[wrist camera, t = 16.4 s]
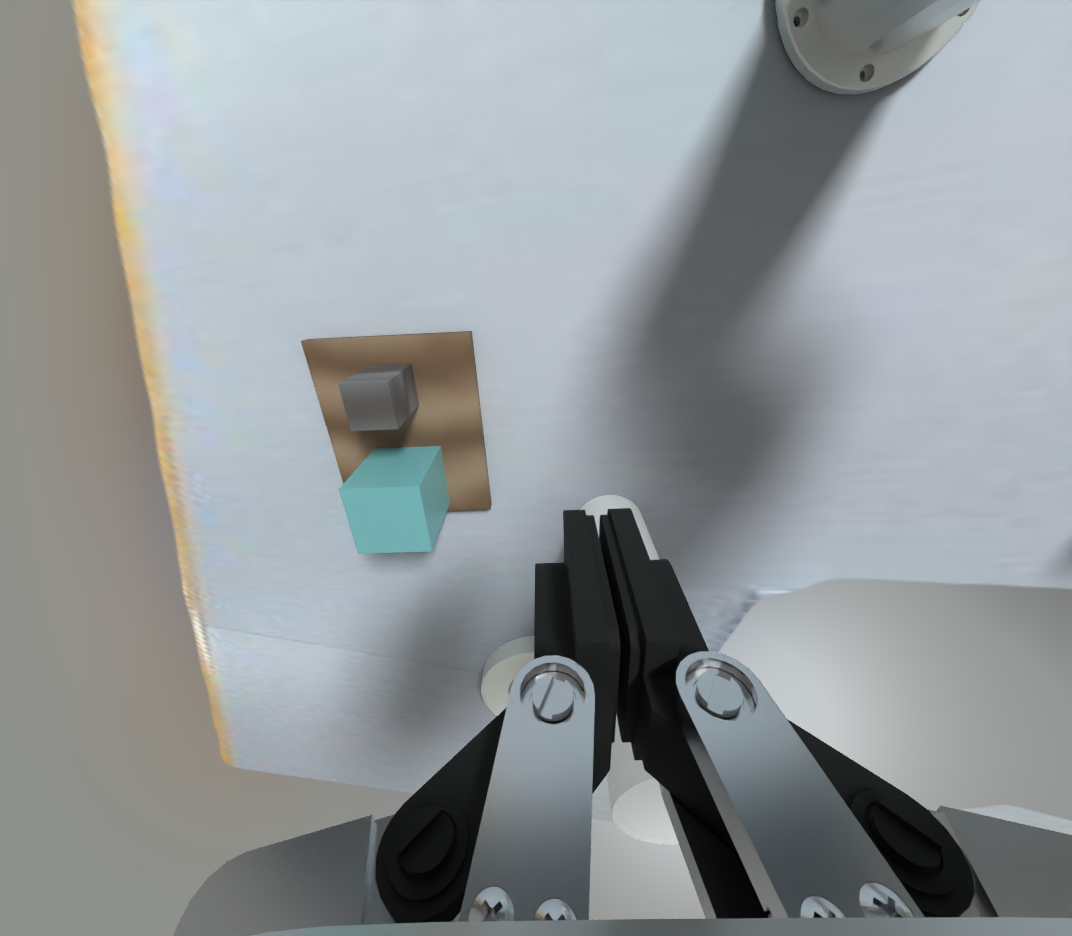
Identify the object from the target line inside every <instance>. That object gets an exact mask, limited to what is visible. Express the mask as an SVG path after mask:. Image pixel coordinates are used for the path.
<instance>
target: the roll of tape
mask: <svg viewBox="0 0 1072 936" xmlns="http://www.w3.org/2000/svg"><path fill="white" fill-rule="evenodd" d="M533 659H534V635H533V636H525V637H521V638H517V639H514V640H511V641H509V642H507V643H505V644H503V645H501V646H500V647H498V648H497V649H496V650H495V651H493V652H492V653H491V655H490V656H489V657H488V659H487V660H486V662H485V665H484V669H483V676H482V683H481V695H482V698H483V701H484V703H485V704H486V706H487V707H488V708H489V709H490V710H491V711H492V712H493V713H494V714H495V715H496V716H498V715H499V714H500V713H501V712H502V711H503V710H504V709H505V708H506V707H507V704H508V699H509V695H510V690H511V686H512V684H513V681H514V679H515V676H516V675H517V673H518V672H519V671H520V670H521V669H522V667H523V666H524V665H526V664H527V663H529V662H530V661H532V660H533Z"/></svg>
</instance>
